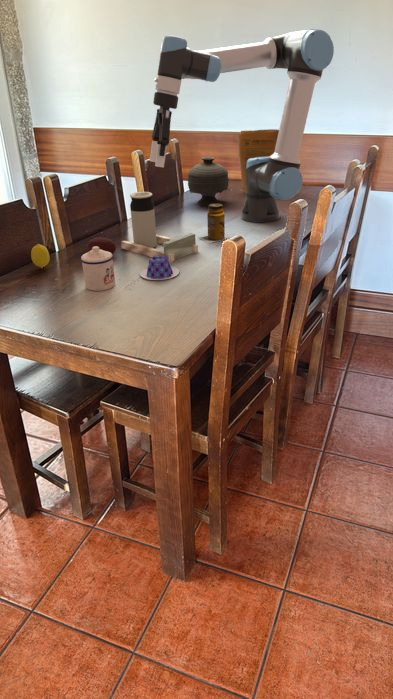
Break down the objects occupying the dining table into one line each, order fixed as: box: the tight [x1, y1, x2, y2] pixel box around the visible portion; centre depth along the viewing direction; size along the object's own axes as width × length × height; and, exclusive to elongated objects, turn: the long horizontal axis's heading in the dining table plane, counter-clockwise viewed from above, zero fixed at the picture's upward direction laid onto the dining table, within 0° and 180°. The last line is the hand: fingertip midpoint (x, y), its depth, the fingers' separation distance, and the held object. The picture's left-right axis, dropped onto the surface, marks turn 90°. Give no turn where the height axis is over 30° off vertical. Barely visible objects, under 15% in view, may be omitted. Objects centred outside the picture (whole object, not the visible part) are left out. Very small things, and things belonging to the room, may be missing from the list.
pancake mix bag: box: [237, 128, 279, 194], centre depth 242 cm, size 7×19×28 cm, turn 74°
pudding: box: [139, 256, 180, 281], centre depth 160 cm, size 12×12×5 cm
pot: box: [187, 156, 229, 207], centre depth 231 cm, size 18×18×20 cm
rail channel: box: [120, 232, 199, 264], centre depth 180 cm, size 24×13×6 cm, turn 48°
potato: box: [87, 236, 117, 255], centre depth 177 cm, size 7×10×6 cm
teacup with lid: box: [80, 246, 116, 292], centre depth 153 cm, size 12×9×12 cm
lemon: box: [30, 243, 50, 269], centre depth 168 cm, size 6×6×8 cm
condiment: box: [199, 203, 230, 244], centre depth 187 cm, size 7×8×12 cm
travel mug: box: [129, 191, 158, 249], centre depth 181 cm, size 8×8×18 cm
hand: (156, 164), depth 173 cm, fingers open, 13 cm apart
